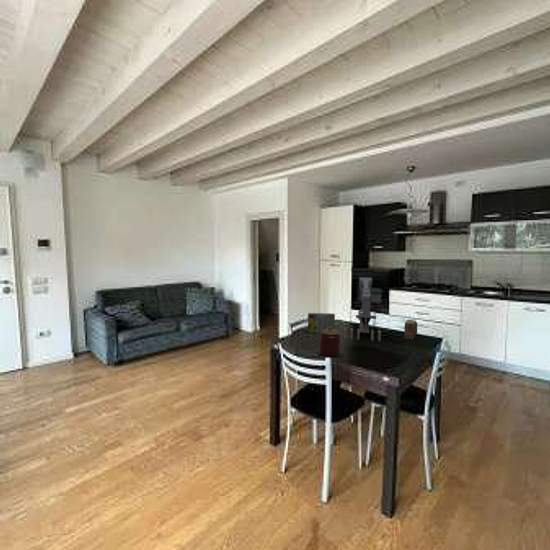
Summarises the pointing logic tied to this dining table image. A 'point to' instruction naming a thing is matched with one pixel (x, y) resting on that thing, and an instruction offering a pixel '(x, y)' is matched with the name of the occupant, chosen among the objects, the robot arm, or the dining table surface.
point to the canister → (330, 342)
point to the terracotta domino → (365, 327)
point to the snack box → (320, 321)
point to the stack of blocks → (410, 329)
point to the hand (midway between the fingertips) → (365, 327)
